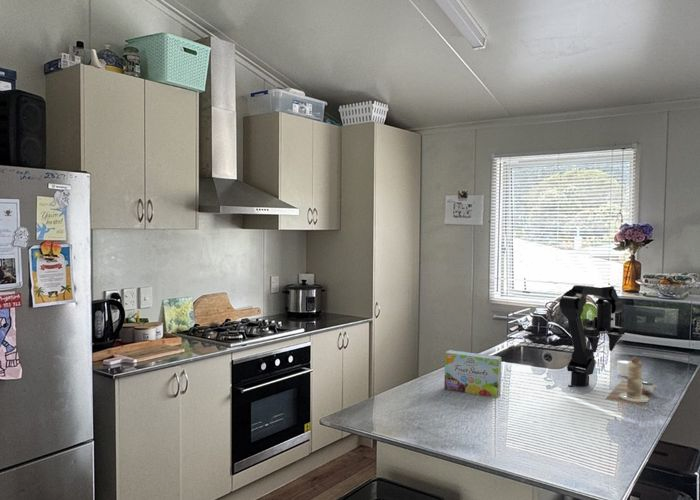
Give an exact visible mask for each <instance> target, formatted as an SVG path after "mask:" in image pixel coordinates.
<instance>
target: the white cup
mask: <svg viewBox="0 0 700 500" xmlns="http://www.w3.org/2000/svg"><path fill="white" fill-rule="evenodd" d="M629 361H630V360H624V359H623V360H619V359H618V360H617V363H616V364H617V365H616V367H617V375H618V376H621V377H627V378H628V362H629Z"/></svg>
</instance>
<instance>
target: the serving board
mask: <svg viewBox="0 0 700 500" xmlns="http://www.w3.org/2000/svg"><path fill="white" fill-rule="evenodd" d="M627 383H628V380H621V381H620V382H619V383H618V384H617V386H616V387H615V388H613V390H612V391H611V392H610V393H609V394H608V395H607V396H606V397H605V400H608V401H613V402H617V403H618V402H619V403H625V404H631V405H634V406H641V407H644V406H645V405H646V404H647V402H644V403H639V402H631V401H626V400H623V399H621V398H620V397H619V394H622V393H627ZM656 388H657V385H655V384H654V385H653V392H654V391H655V389H656ZM641 391H642V382H641ZM641 395H643V396H646V397H647V398H649V399H650V397H651V396H652V395H646V394H642V393H641Z"/></svg>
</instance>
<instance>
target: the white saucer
mask: <svg viewBox="0 0 700 500" xmlns="http://www.w3.org/2000/svg"><path fill="white" fill-rule="evenodd" d="M619 397H620V398H621V399H623V400H626V401H631V402H639V403H644V402H646V403H649V399H650V397H649V398H647V397H646V396H643V395H641V398H640V399H633V398H629V397H627V396H626V393H622V394H619Z"/></svg>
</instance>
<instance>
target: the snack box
mask: <svg viewBox="0 0 700 500" xmlns="http://www.w3.org/2000/svg"><path fill="white" fill-rule="evenodd" d="M444 355H445V356H444V357H445V358H444V359H445V360H444V382H443V389H444V390H449V391H455V392H461V393H466V394H471V395H479V396H485V397H490V398H495V399H497V398H499V396H500V395H501V382H502V356H496V355H489V354H484V353H483V354H481V353H475V352H468V351H459V350H453V349H449V350H447V351H445V352H444Z"/></svg>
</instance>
